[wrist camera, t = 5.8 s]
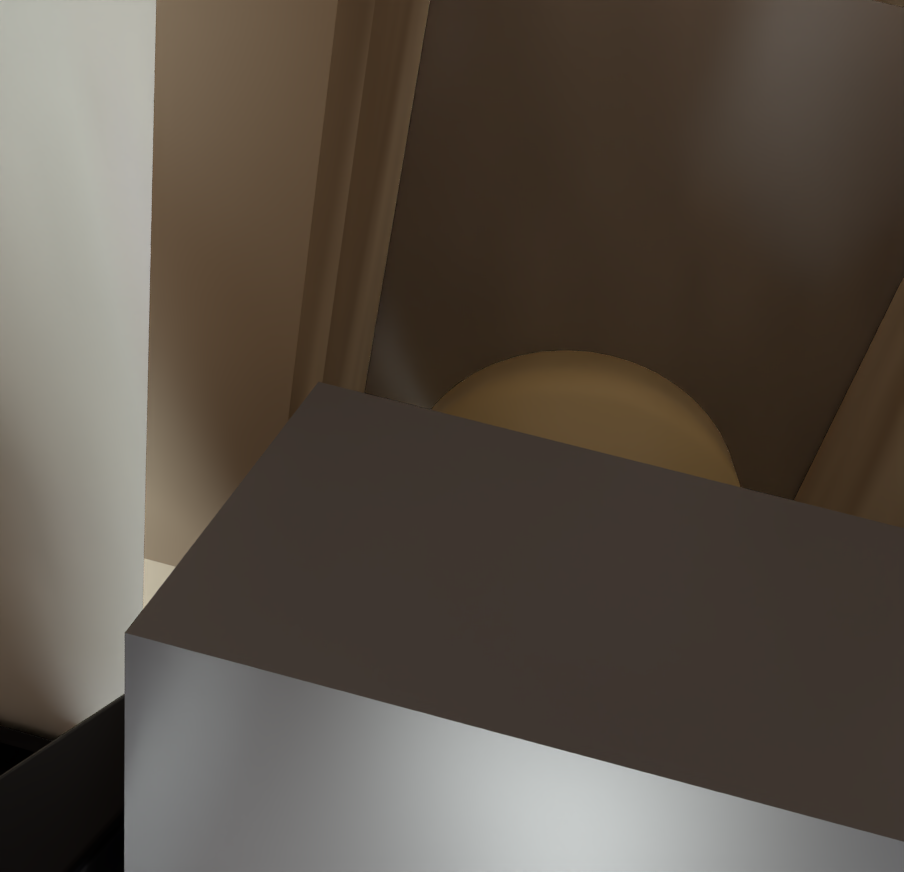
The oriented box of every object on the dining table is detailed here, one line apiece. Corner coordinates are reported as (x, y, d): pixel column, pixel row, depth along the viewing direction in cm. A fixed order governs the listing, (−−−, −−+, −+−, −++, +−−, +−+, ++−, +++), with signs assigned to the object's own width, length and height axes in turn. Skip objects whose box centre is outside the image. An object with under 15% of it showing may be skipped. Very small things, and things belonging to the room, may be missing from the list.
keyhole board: (261, 678, 18) (135, 924, 13) (373, -229, 10) (165, -455, 5) (707, 802, 17) (749, 1104, 12) (1175, -51, 10) (1752, -121, 5)
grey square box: (346, 606, 14) (123, 1131, 7) (405, 269, 11) (125, 633, 4) (693, 698, 13) (785, 1329, 7) (845, 375, 11) (1243, 934, 4)
